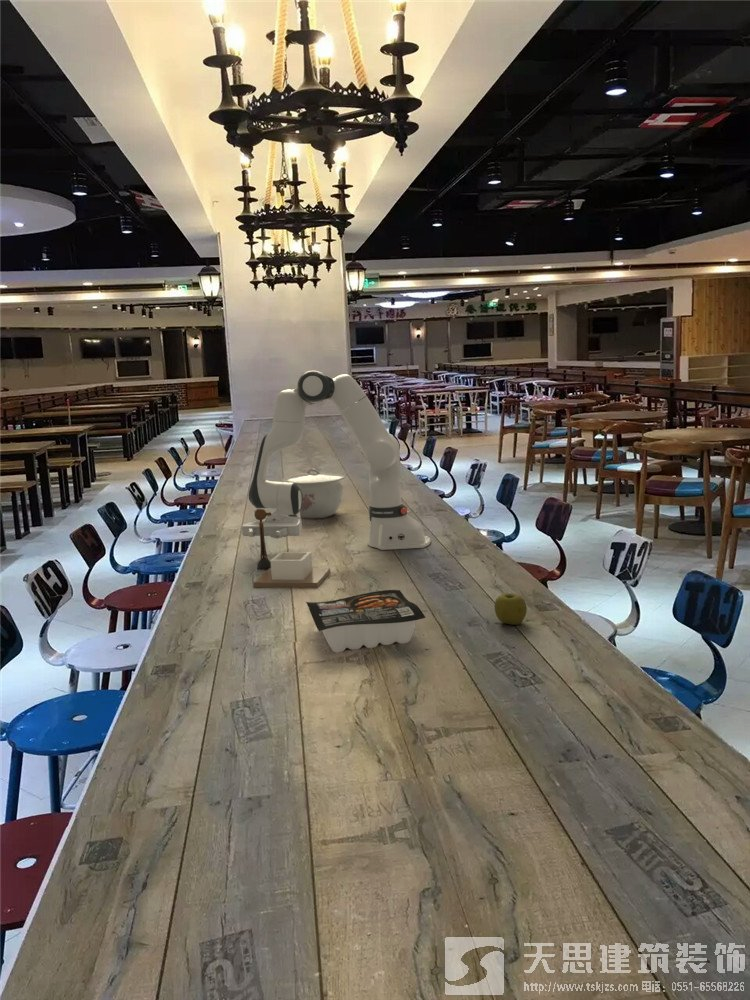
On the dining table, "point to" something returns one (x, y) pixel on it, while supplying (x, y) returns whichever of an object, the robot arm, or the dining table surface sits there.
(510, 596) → the apple
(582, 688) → the dining table surface
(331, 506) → the chamber pot
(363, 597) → the food packaging
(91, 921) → the dining table surface
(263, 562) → the wooden tabletop sculpture
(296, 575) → the utensil holder
